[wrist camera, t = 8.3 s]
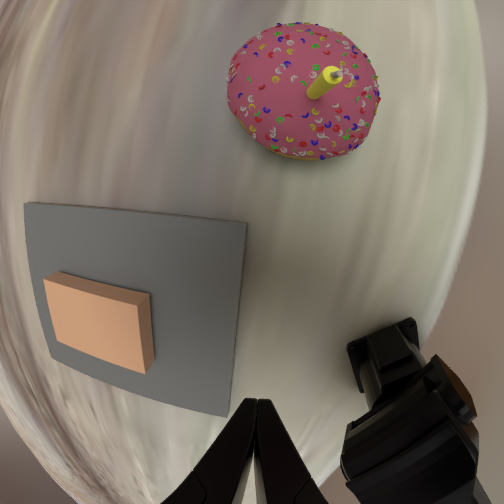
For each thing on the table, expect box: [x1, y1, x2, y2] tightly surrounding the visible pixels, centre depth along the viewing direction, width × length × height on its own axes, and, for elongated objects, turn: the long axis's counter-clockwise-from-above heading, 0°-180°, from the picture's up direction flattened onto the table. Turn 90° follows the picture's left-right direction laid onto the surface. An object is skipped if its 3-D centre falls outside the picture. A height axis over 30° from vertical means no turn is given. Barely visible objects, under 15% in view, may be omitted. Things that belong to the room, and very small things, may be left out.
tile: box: [43, 271, 155, 374], centre depth 22 cm, size 2×7×11 cm
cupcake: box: [226, 22, 381, 161], centre depth 11 cm, size 9×8×12 cm
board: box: [24, 202, 247, 418], centre depth 23 cm, size 24×20×1 cm
